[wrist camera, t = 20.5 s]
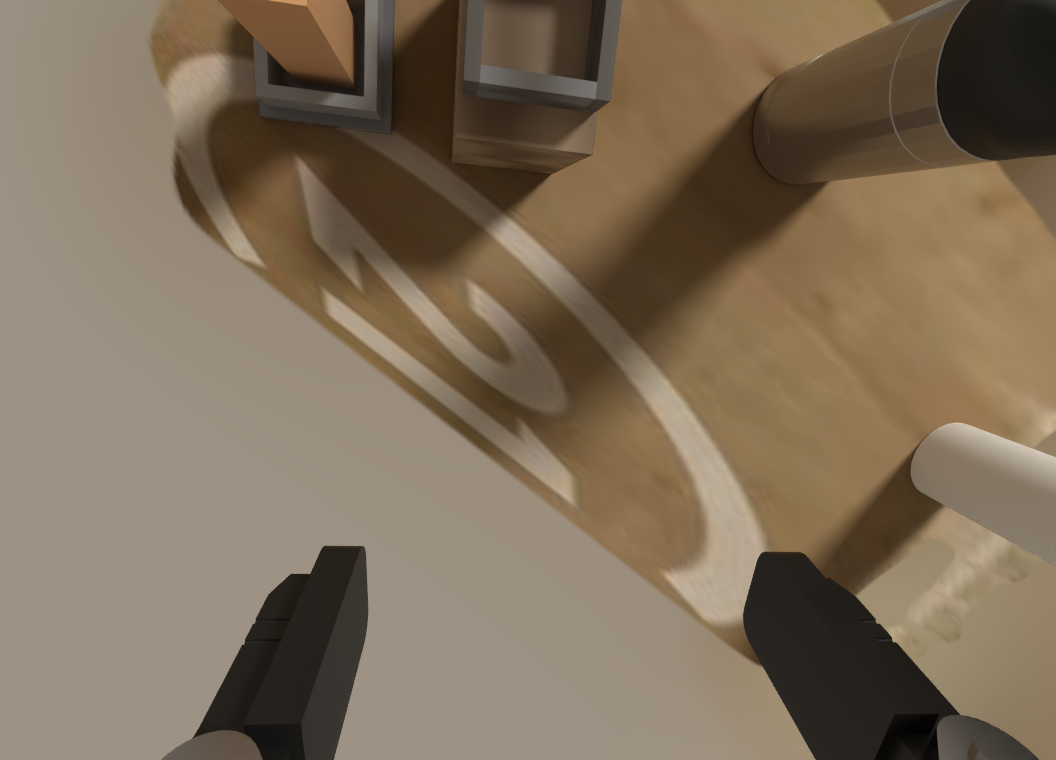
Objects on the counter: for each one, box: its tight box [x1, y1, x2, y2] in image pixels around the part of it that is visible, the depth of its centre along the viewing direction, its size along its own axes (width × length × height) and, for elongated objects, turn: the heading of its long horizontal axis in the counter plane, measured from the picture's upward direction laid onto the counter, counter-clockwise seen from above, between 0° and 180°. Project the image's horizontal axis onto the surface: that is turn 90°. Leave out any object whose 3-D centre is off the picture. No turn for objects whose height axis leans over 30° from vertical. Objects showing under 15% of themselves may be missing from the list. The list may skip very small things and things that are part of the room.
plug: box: [218, 0, 357, 89], centre depth 30 cm, size 4×4×15 cm
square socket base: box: [451, 0, 622, 174], centre depth 33 cm, size 8×12×15 cm, turn 175°
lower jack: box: [253, 0, 395, 134], centre depth 36 cm, size 9×9×4 cm
